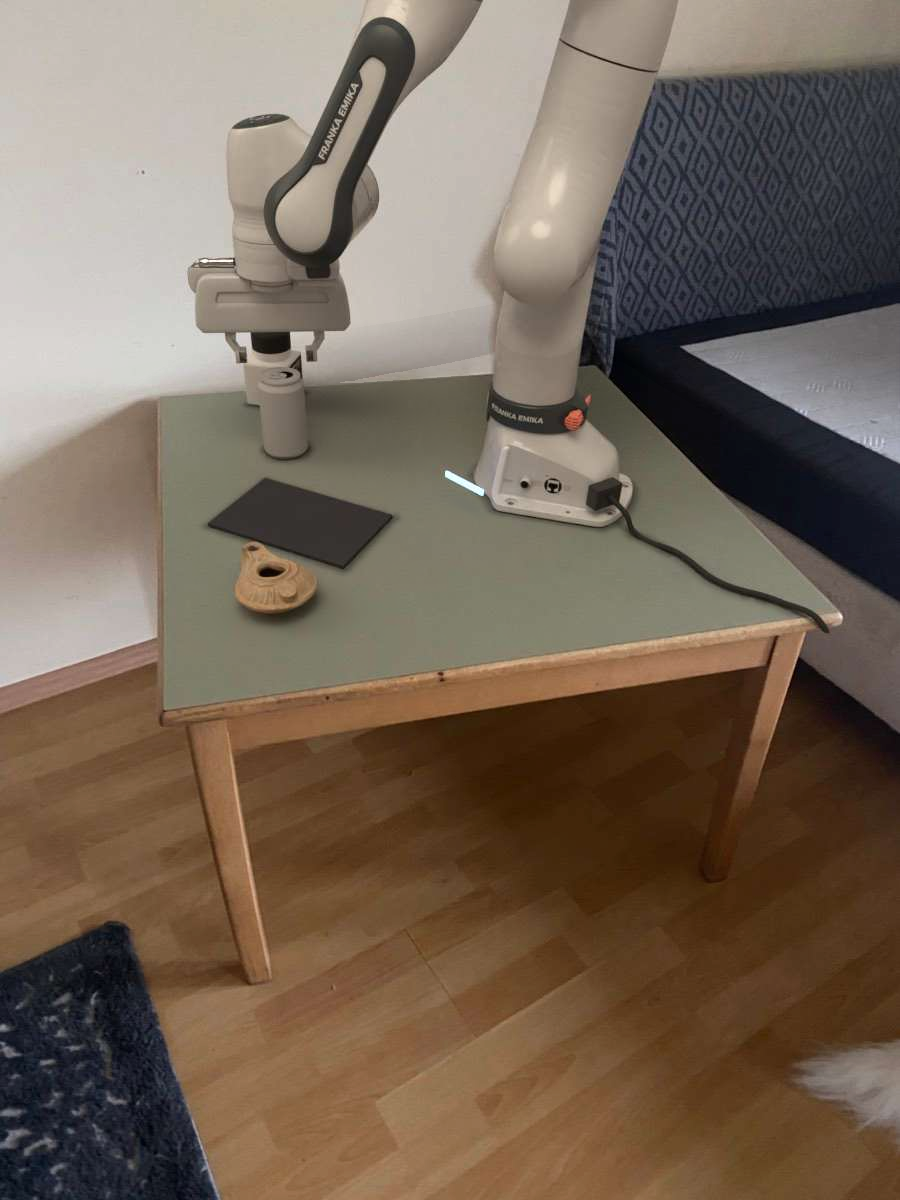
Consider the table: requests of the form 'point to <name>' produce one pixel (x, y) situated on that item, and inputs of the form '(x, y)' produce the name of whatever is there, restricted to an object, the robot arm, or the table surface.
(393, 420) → the table surface
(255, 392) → the medicine bottle
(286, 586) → the pottery oil lamp
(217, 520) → the mat
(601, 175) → the robot arm
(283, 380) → the beverage can
